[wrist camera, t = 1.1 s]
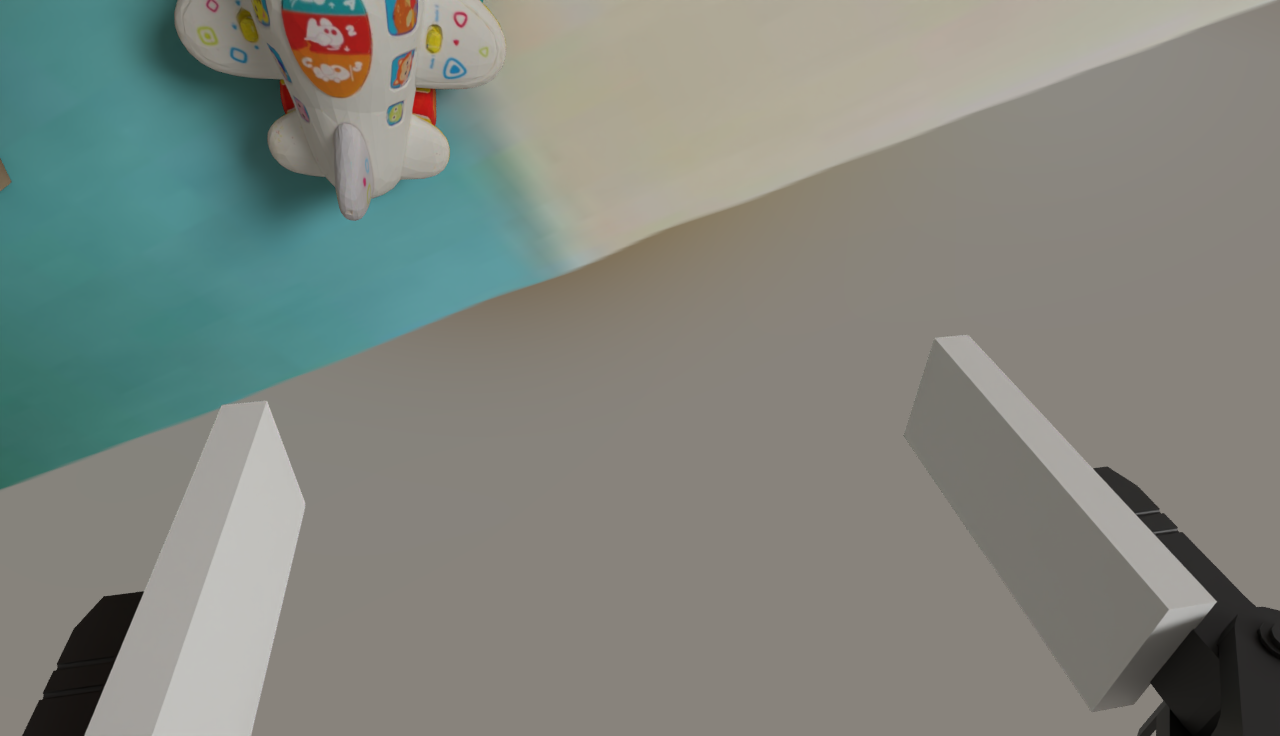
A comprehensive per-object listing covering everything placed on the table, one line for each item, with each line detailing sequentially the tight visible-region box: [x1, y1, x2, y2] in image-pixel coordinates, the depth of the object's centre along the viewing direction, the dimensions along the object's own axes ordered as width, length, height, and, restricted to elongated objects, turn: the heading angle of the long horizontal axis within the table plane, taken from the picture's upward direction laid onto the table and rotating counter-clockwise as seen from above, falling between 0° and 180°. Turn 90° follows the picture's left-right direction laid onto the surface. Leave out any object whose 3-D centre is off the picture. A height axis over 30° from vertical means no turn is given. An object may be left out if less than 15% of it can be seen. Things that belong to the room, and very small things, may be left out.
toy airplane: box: [174, 0, 506, 221], centre depth 31 cm, size 13×9×15 cm
